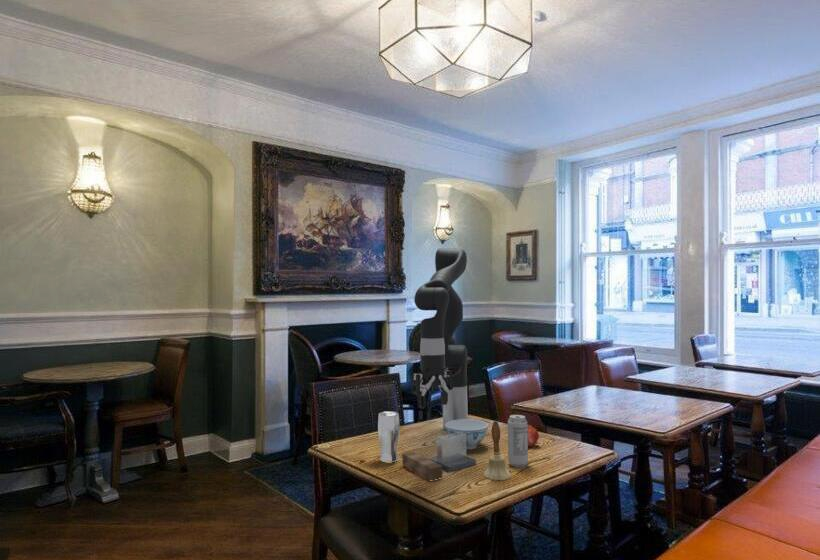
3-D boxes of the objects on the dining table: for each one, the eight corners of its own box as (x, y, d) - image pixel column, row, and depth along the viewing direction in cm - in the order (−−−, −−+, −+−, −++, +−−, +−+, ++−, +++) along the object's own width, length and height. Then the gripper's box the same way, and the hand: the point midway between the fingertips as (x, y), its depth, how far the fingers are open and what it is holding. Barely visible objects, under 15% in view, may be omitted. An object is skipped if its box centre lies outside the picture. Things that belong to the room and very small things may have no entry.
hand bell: (492, 482, 146) (492, 426, 146) (477, 473, 154) (477, 419, 154) (517, 478, 149) (516, 422, 150) (501, 469, 157) (500, 416, 157)
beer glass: (389, 455, 171) (389, 410, 171) (404, 460, 166) (403, 413, 166) (373, 460, 166) (373, 413, 167) (388, 465, 161) (387, 417, 162)
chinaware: (497, 447, 179) (497, 425, 179) (466, 456, 170) (465, 432, 170) (467, 438, 191) (467, 417, 191) (436, 445, 182) (436, 423, 182)
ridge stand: (428, 463, 163) (428, 434, 163) (455, 456, 169) (454, 429, 169) (448, 471, 155) (448, 441, 155) (475, 464, 161) (475, 435, 161)
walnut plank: (402, 466, 161) (402, 453, 161) (413, 464, 163) (413, 451, 163) (430, 482, 147) (430, 468, 147) (442, 479, 149) (442, 465, 149)
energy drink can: (524, 461, 164) (523, 413, 164) (530, 467, 158) (529, 418, 158) (505, 462, 163) (505, 414, 164) (511, 468, 157) (511, 419, 158)
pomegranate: (520, 448, 185) (509, 436, 179) (528, 430, 188) (517, 417, 182) (538, 454, 180) (527, 442, 174) (546, 436, 183) (535, 423, 177)
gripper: (442, 350, 164) (443, 401, 163) (406, 353, 155) (406, 407, 155) (458, 352, 158) (458, 405, 157) (421, 355, 149) (422, 411, 149)
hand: (433, 406), depth 156 cm, fingers open, 8 cm apart
